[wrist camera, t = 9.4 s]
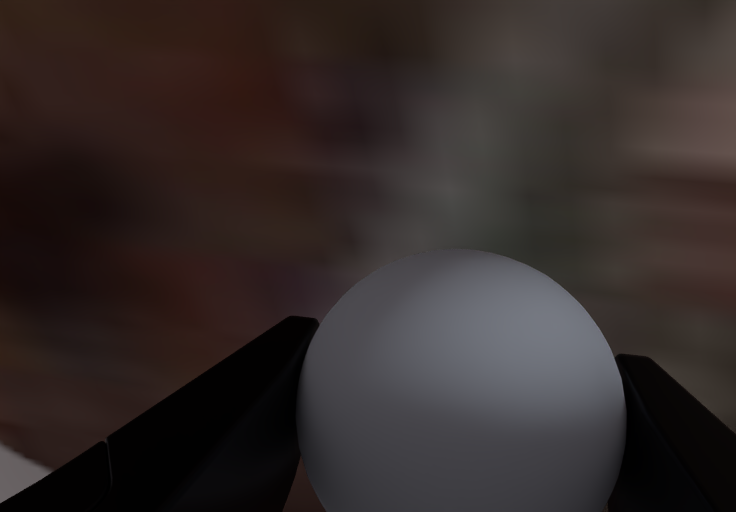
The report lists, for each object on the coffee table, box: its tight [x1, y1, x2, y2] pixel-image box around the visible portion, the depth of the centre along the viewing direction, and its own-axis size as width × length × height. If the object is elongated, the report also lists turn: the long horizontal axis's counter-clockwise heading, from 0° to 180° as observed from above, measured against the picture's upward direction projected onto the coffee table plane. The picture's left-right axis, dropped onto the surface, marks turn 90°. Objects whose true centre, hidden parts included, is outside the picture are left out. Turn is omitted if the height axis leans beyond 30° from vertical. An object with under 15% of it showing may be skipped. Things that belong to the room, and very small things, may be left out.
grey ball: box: [295, 249, 627, 512], centre depth 8 cm, size 4×4×4 cm
